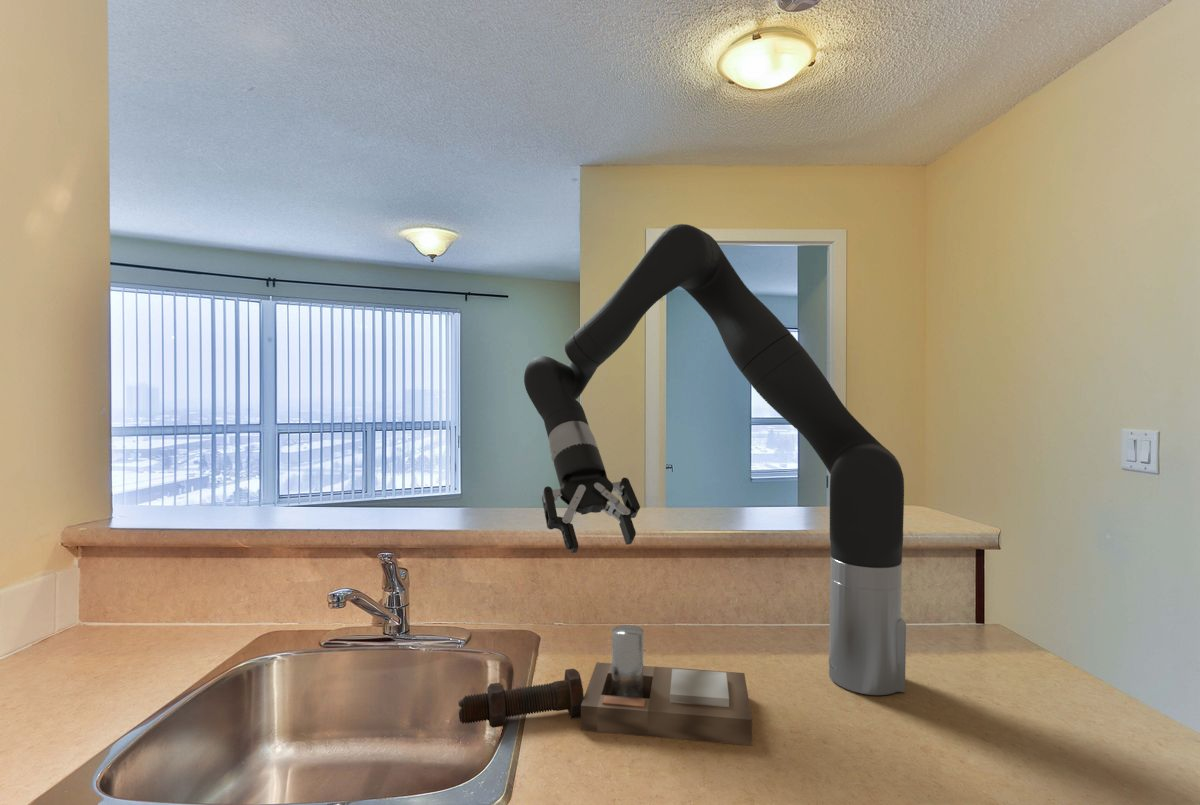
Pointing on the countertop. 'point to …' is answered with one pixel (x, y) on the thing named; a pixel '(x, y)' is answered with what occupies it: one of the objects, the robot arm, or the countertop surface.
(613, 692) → the peg
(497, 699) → the bolt
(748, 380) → the robot arm
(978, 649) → the countertop surface
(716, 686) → the recessed board
